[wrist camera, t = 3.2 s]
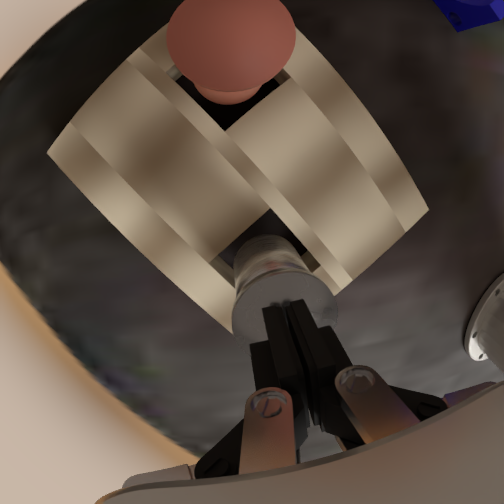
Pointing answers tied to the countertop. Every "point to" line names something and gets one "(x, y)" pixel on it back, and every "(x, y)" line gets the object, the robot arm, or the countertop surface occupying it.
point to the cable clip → (471, 12)
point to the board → (238, 171)
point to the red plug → (230, 45)
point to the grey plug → (274, 288)
